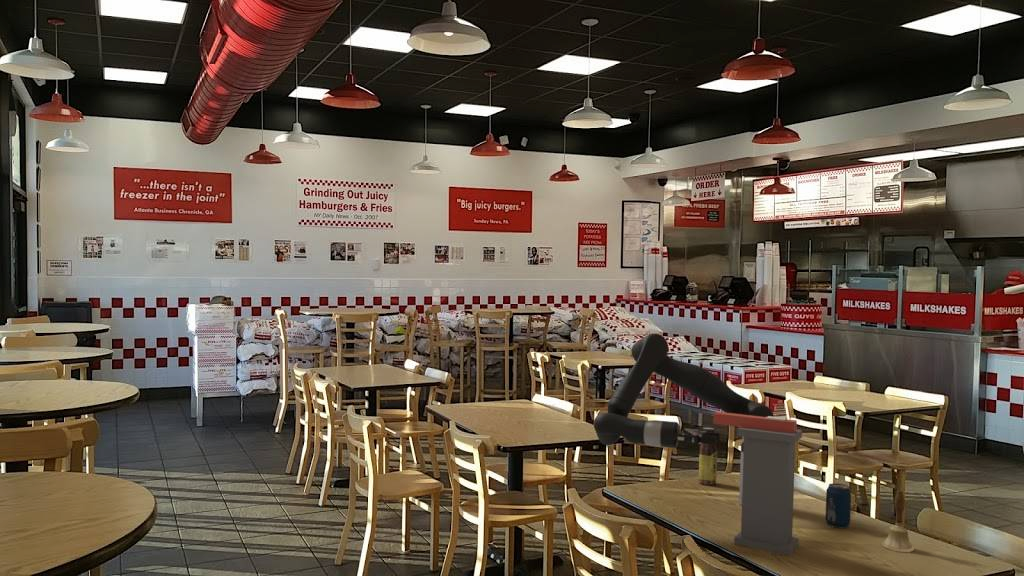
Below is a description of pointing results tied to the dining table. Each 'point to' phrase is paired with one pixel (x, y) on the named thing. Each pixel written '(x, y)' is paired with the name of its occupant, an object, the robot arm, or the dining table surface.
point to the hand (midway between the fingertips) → (717, 438)
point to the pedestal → (768, 490)
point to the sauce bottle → (708, 462)
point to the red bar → (755, 422)
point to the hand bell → (898, 527)
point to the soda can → (838, 505)
